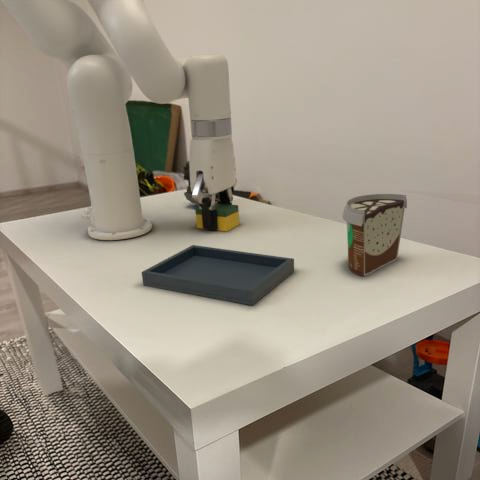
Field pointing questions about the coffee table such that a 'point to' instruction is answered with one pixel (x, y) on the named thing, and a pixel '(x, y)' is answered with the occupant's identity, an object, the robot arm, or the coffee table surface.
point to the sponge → (222, 216)
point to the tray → (220, 273)
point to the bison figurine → (189, 192)
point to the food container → (373, 230)
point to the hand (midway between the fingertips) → (218, 224)
